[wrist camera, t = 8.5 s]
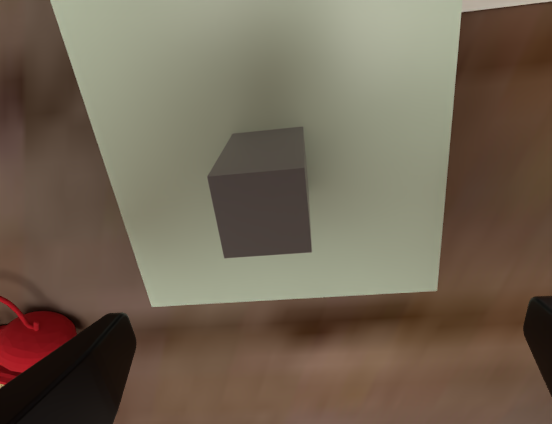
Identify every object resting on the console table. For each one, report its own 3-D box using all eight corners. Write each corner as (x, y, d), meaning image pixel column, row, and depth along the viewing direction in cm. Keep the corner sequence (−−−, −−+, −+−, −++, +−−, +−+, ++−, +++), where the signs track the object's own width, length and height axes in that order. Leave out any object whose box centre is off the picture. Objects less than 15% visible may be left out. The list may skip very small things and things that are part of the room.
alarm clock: (-23, 478, 28) (-204, 377, 18) (24, 393, 33) (-100, 277, 23) (114, 481, 27) (-2, 375, 18) (141, 392, 32) (62, 272, 22)
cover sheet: (457, -65, 11) (560, -121, 7) (431, 278, 16) (478, 372, 12) (62, -8, 12) (-69, -23, 8) (157, 295, 17) (111, 385, 13)
